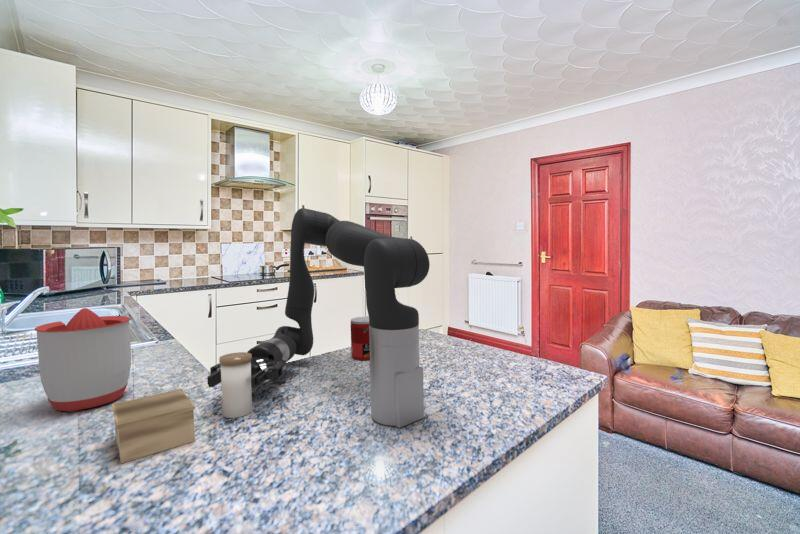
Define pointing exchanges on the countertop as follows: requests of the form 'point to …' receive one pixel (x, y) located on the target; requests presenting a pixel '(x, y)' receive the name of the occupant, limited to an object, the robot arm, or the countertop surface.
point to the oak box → (153, 424)
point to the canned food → (360, 338)
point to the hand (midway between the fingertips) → (231, 382)
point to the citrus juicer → (84, 360)
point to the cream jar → (236, 384)
